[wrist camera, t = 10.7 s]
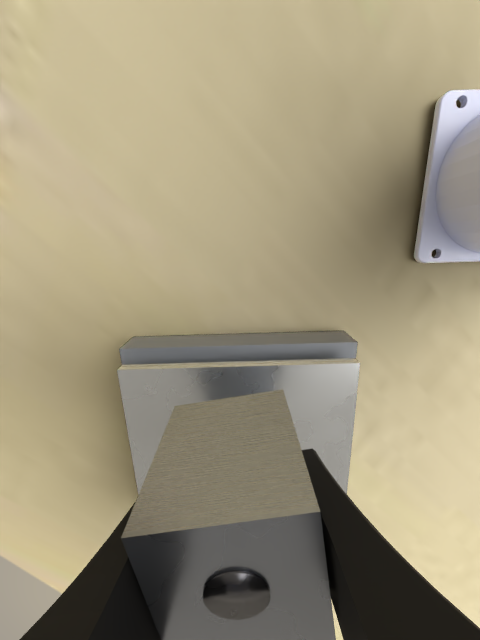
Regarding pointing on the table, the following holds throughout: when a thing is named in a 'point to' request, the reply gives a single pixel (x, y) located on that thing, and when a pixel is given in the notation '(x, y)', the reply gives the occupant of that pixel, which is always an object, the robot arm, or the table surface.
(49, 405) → the table surface
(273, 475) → the block
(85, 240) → the table surface
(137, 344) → the scale housing
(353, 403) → the pan
